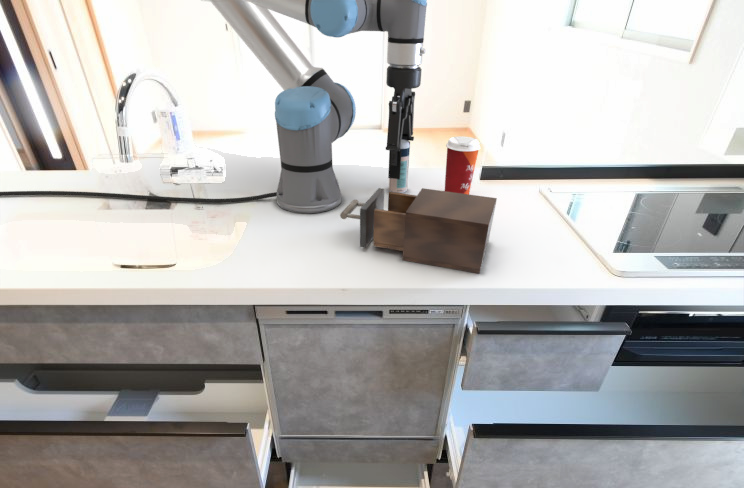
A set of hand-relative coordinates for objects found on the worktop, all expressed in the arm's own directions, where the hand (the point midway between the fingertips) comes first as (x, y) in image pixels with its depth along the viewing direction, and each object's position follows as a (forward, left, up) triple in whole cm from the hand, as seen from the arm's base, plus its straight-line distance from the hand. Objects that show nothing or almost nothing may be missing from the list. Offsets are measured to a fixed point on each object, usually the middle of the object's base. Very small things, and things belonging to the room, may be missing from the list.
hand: (398, 172), depth 110 cm
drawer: (+6, -28, -4) cm, 29 cm away
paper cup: (+15, -1, -5) cm, 16 cm away
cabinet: (+18, -28, -5) cm, 34 cm away
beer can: (0, 0, -5) cm, 5 cm away
